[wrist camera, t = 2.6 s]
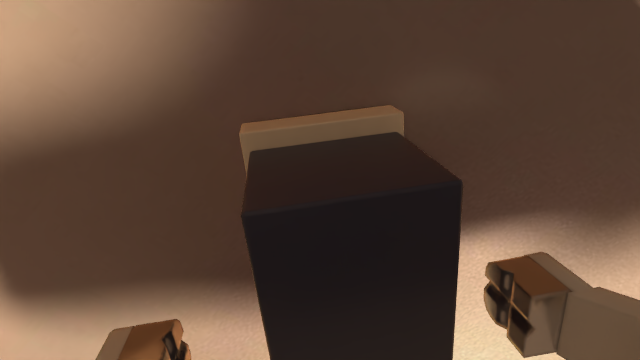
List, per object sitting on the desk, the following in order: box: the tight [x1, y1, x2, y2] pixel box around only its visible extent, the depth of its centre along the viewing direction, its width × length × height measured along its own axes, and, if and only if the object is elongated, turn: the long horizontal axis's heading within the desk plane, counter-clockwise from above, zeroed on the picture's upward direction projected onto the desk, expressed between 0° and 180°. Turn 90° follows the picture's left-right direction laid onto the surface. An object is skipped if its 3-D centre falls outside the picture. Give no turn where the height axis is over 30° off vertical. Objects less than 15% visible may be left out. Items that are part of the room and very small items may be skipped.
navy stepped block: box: [239, 105, 463, 360], centre depth 11 cm, size 11×5×5 cm, turn 6°
